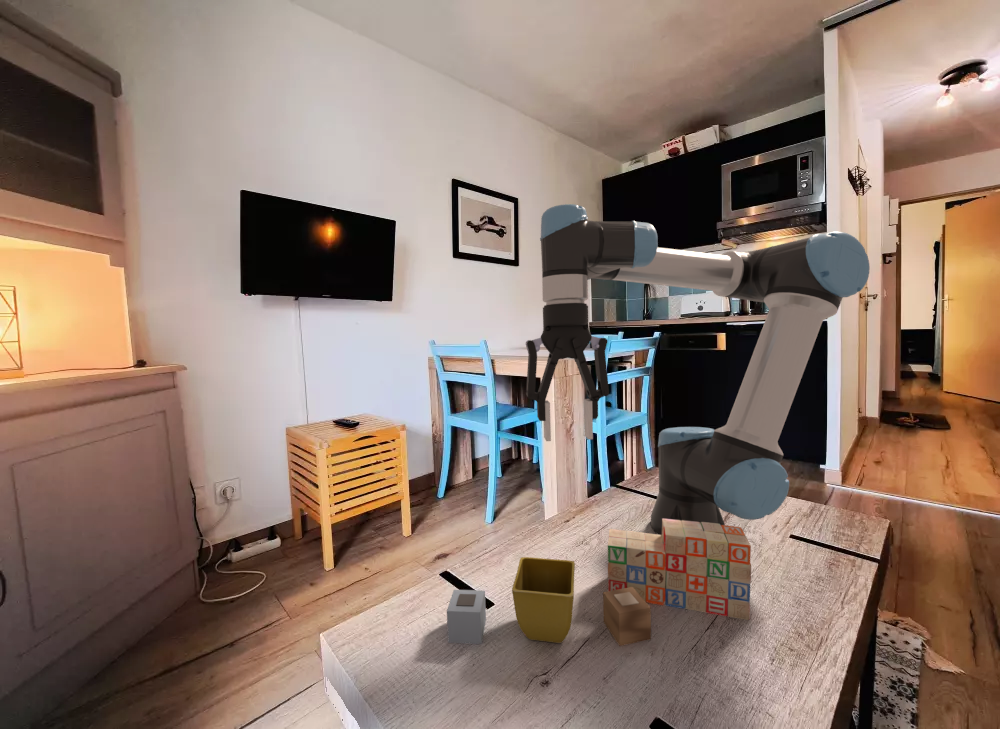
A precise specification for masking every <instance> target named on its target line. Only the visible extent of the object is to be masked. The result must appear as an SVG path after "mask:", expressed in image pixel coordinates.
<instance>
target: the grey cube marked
mask: <svg viewBox="0 0 1000 729" xmlns="http://www.w3.org/2000/svg"><path fill="white" fill-rule="evenodd" d="M486 609H487V608H486V590H477V589H476V590H475V589H474V590H473V589H453V592H452V594H451V597H450V601H449V603H448V606H447V610H446V624H447V625H446V626H447V643H451V644H469V645H470V644H471V645H473V644H476V645H482V644H483V639H484V638H483V637H484V632H485V627H486V623H487V611H486Z"/></svg>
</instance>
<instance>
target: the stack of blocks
mask: <svg viewBox="0 0 1000 729" xmlns="http://www.w3.org/2000/svg"><path fill="white" fill-rule="evenodd" d="M751 550H752V545H751V543H750V541H749V539H748V537H747V536H746V533H745V532H744V530H743V528H742V527H741V526H735V525H720V524H717V523H708V522H701V523H700V522H694V521H684V520H682V521H680V520H673V519H664V518H663V519H662V535H658V534H657V533H648V532H647V533H646V532H643V531H642V532H641V531H634V530H633V531H631V530H625V529H624V530H623V529H615V528H609V531H608V542H607V579H608V581H607V582H608V585H607V591H612V590H618V589H623V588H629V587H633V588H634V589H635V590H636V591H637V593H638V594H639V595H640V596H641V597H642V598H643V599H644V600H645V602H646V603H647V604H653V605H659V606H667V607H671V608H672V607H673V608H677V609H678V608H679V609H684V610H685V609H686V610H691V611H697V612H701V613H707V614H712V615H718V616H724V617H729V618H734V619H739V620H740V619H741V620H745V621H749V620H750V618H751V617H750V615H751V614H750V610H751V608H750V607H751V604H750V602H751V583H752V563H751Z"/></svg>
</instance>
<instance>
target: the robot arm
mask: <svg viewBox="0 0 1000 729" xmlns="http://www.w3.org/2000/svg"><path fill="white" fill-rule="evenodd" d="M540 221H541V222H540V223H541V224H540V238H539V240H540V250H541V253H540V254H541V272H542V273H541V274H542V276H541V277H542V278H541V282H542V286H541V288H542V302H543V303H545V305H544V306H543V307H542V327H543V328H542V333H541V335H540V337H539V338H535V339H532V340H531V339H528V340H526V342H525V346H526V351H527V354H528V357H527V358H528V359H527V372H526V374H527V375H526V390H525V391H526V392H525V394H526V397H527V399H529V400H533V401H536V409H537V410H536V412H537V418H538V420H539V422H543V438H544V440H545V441H546V442H551V441H552V439H551V437H552V434H551V432H552V431H551V430H552V429H551V427H552V426H551V425H552V424H551V403H550V402H549V401H548V399H547V397H548V396H547V395H548V393H549V390H550V387H551V384H552V380H553V377H554V375H555V372H556V367H557V365H558V363H559V360H564V359H567V358H569V359H573V360H574V362H575V364H576V366H577V369H578V372H579V375H580V377H581V380H582V383H583V385H584V388H585V391H586V394H587V397H588V398H583V416H584V417H583V419H584V420H583V422H584V424H583V425H584V427H583V429H584V436H585V438H586V439H587V440H594V434H593V433H594V431H593V428H594V427H593V423H594V422H593V420H594V419H595V420H596V419H597V420H598V418H599V401H600V399H602V398H604V397H608V396H609V394H610V389H609V388H610V387H609V378H608V369H607V360H606V359H607V358H606V350H607V345H608V339H607V337H606V338H605V337H597V336H593V335H592V333H591V332H590V330H589V329H590V328H589V305H588V304H587V303H585V302H586V301H587V300H588V299H589V292H588V291H589V289H588V288H589V285H588V284H589V283H588V282H589V281H588V280H591V279H595V280H596V279H598V280H607V281H609V280H610V281H621V282H629V283H638V284H648V285H657V286H666V287H674V288H685V289H693V290H694V289H695V290H703V291H704V290H705V291H711V292H713V294H714V295H716V296H718V297H722V298H731V299H736V300H737V299H738V300H745V301H751V302H752V301H753V302H759V303H764V304H765V305H766V307H767V308H768V312H767V314H766V318H765V321H764V323H763V327H762V329H761V331H760V333H759V337H758V339H757V341H756V344H755V347H754V349H753V352H752V355H751V358H750V360H749V363H748V366H747V369H746V371H745V373H744V377H743V379H742V382H741V385H740V386H739V389H738V393H737V395H736V398H735V401H734V403H733V406H732V408H731V411H730V414H729V417H728V418H727V422H726V424H725V425H723V426H721V427H718V428H716V429H714V428H710V427H702V426H677V427H668V428H665V429H662V430H661V431H660V432H659V433H658V434H659V435H658V440H657V442H658V443H657V448H658V495H657V497H656V500H655V503H654V505H653V509H652V511H651V514H650V527H651V529H652V530H653V532H654V534H658V535H662V519H663V518H664V519H673V520H680V521H682V520H684V521H694V522H700V523H701V522H708V523H717V524H720V525H725V521H724V518H723V514H722V513H721V510H722V512H726V513H728V514H731V515H733V516H736V517H737V518H739V519H743V520H748V521H749V520H750V521H753V520H761V519H764V518H765V517H766V516H770V515H772V514H773V513H775V512H776V511H777V510H778V509H779V508H780V507H781V506H782V505H783V503H784V502H785V500H786V498H787V496H788V494H789V490H790V481H789V479H788V478H789V475H788V473H787V470H786V469H785V467H783V465H781V463H782V460H783V458H784V453H783V450H782V449H781V447H780V445H779V442H778V441H779V439H780V436H781V434H782V430H783V428H784V425H785V422H786V421H787V417H788V415H789V412H790V409H791V406H792V404H793V402H794V399H795V396H796V393H797V391H798V388H799V385H800V383H801V379H802V378H803V375H804V372H805V370H806V367H807V364H808V361H809V360H810V356H811V353H812V351H813V348H814V346H815V342H816V339H817V337H818V334H819V332H820V329H821V327H822V324H823V321H824V320H827V319H829V318H832V317H833V316H835V315H836V314H838V311H839V308H840V306H841V303H842V301H843V298H849V297H851V296H853V295H854V296H855V295H856V294H857V293H859V292H861V291H862V290H863V288H864V287H865V286H866V284H867V282H868V280H869V276H870V261H869V256H868V254H867V252H866V250H865V246H864V245H863V244H862V243H861V241H860V240H858V239H857V238H856V237H855V236H853V235H851V234H850V233H848V232H844V231H830V232H825V233H817V234H813V235H810V237H805V238H802V239H798V240H793V241H788V242H785V243H781V244H777V245H772V246H769V247H764V248H760V249H755V250H750V251H749V250H748V251H733V250H731V251H725V252H724V253H722V254H715V253H707V252H701V251H691V250H682V249H678V248H675V249H674V248H668V247H659V246H658V245H659V244H658V243H659V242H658V239H659V238H658V237H659V236H658V233H657V230H656V228H655V227H654V225H653V224H651V223H649V222H644V221H643V222H641V221H635V220H631V221H606V220H605V221H602V220H601V221H600V220H599V221H597V220H588V214H587V210H586V208H585V207H583V206H582V205H577V204H576V203H575V204H574V203H572V204H569V203H568V204H566V203H565V204H559V205H555V206H552V207H549V208H547V209H546V210H545V211H544V212H543V213H542V216H541V220H540ZM589 344H591V348H592V349H593V350H594V351H593V354H594V355H593V356H594V364H595V375H596V384H597V388H596V385H595V382H594V380H593V377H592V374H591V371H590V368H589V366H588V363H587V358H586V355H585V352H584V351H585V350H586V348H587V347H588V345H589ZM541 345H543V346H544V348H545V349H546V350H547V351H548V352H549V353H548V357H547V361H546V365H545V369H544V371H543V375H542V377H541V381H540V384H539V388H538V390H537V392H536V381H537V367H538V366H537V365H538V352H540V350H541ZM546 399H547V400H546Z"/></svg>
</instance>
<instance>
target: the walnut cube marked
mask: <svg viewBox="0 0 1000 729" xmlns="http://www.w3.org/2000/svg"><path fill="white" fill-rule="evenodd" d="M602 603H603V604H602V606H603V608H602V609H603V611H602V612H603V615H602V617H603V623H604V625H605V627H606V628H607V630H608V631H609V633H610V634H611V635H612V637H613V639H614V640H615V642H616V643H617V645H618V646H619V647H621V646H627V645H631V644H636V643H641V642H646V641H650V640H651V639H652V632H651V631H652V625H651V624H652V623H651V622H652V620H651V619H652V618H651V617H652V615H651V614H652V613H651V612H652V610H651V609H652V608H651V606H650V605H649V603H647V602H645V600H644V599H643V598H642V597H641V596H640V595H639V594H638V593H637V591H636V590H635V589H634V588H633V587H629V588H623V589H618V590H612V591H608V590H607V591H603V593H602Z"/></svg>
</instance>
